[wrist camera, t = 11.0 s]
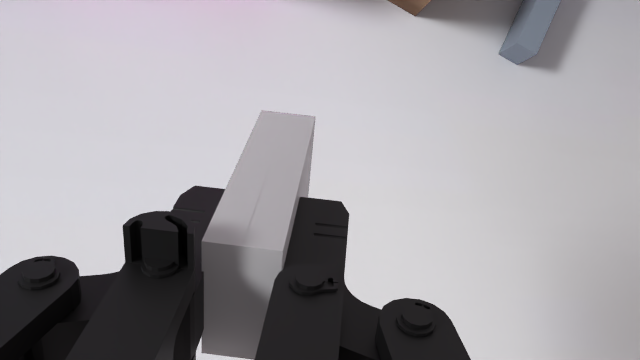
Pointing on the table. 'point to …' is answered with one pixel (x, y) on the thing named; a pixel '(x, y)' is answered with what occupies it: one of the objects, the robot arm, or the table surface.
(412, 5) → the t block
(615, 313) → the table surface
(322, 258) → the robot arm
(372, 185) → the table surface
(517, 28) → the pocket
